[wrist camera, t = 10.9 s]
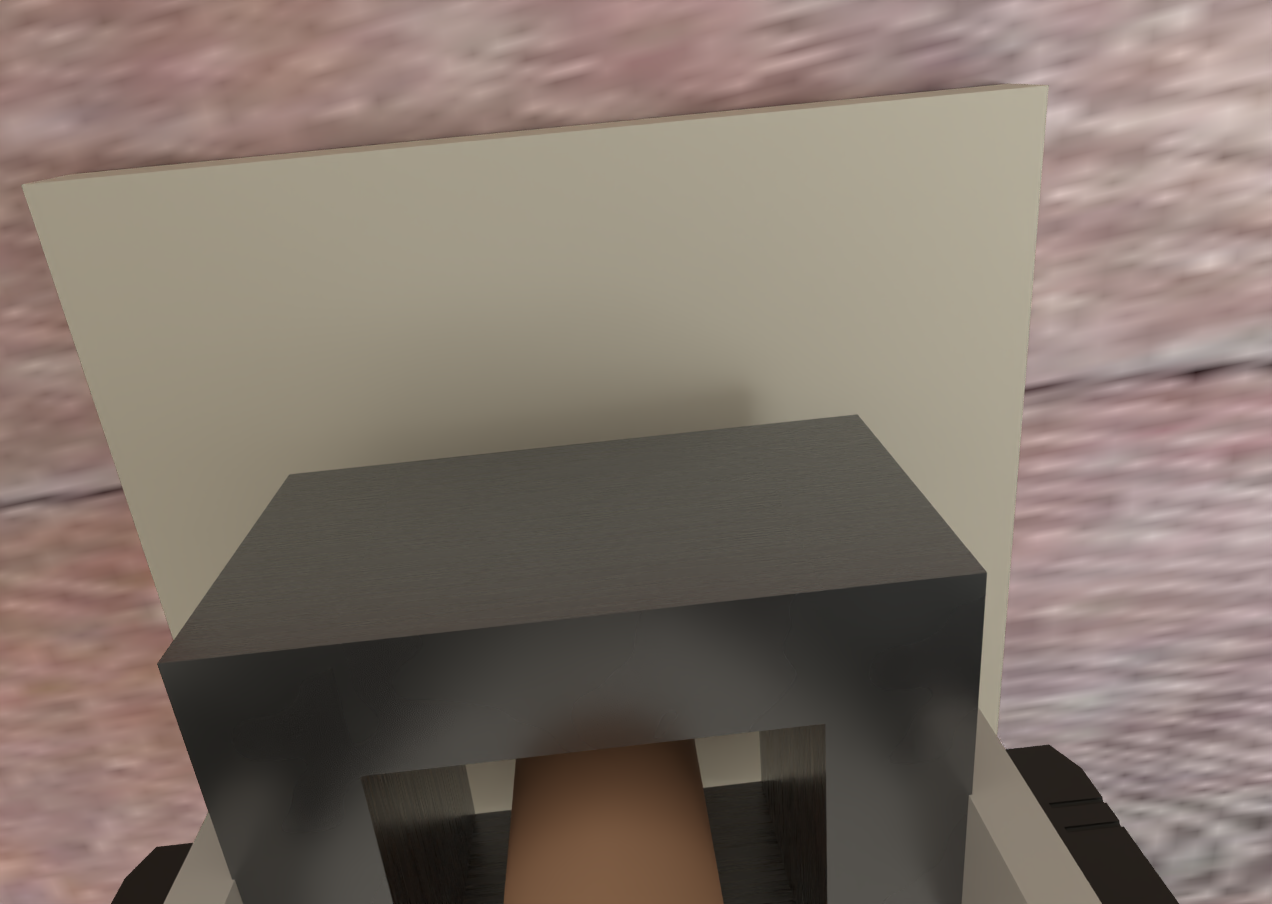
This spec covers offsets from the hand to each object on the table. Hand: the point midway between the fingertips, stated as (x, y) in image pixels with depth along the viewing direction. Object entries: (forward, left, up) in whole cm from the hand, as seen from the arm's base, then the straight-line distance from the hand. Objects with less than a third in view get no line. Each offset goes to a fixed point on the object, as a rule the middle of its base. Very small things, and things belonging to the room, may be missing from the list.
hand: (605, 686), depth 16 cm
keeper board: (0, 0, -3) cm, 3 cm away
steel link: (0, 0, 0) cm, 0 cm away
